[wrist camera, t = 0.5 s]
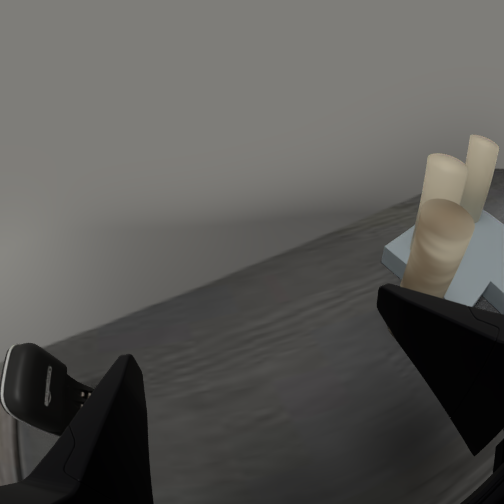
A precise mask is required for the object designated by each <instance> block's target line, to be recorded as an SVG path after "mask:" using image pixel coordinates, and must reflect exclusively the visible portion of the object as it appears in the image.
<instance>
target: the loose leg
mask: <svg viewBox="0 0 504 504" xmlns="http://www.w3.org/2000/svg"><path fill="white" fill-rule="evenodd" d="M474 229H475V223H474V220H473V218H472V216H471V215H470V214H469V213H468V211H467V210H465V209H464V208H463V207H462V206H460V205H458V204H457V203H455V202H452V201H450V200H446V199H430V200H428V201H426V202H425V203H424V204H423V205H422V208H421V212H420V216H419V221H418V225H417V229H416V233H415V237H414V241H413V244H412V248H411V251H410V255H409V258H408V262H407V265H406V268H405V272H404V275H403V278H402V281H401V284H400V287H404V288H407V289H411V290H415V291H418V292H422V293H425V294H429V295H432V296H436V297H439V298H444V296H445V294H446V292H447V290H448V288H449V286H450V284H451V282H452V280H453V278H454V276H455V274H456V272H457V270H458V267H459V265H460V263H461V261H462V259H463V256H464V254H465V252H466V249H467V247H468V245H469V242H470V240H471V237H472V235H473V232H474ZM388 329H389V327H388ZM389 331H390V329H389ZM390 333H391V334H392V332H391V331H390ZM392 336H393V334H392ZM393 337H394V336H393Z"/></svg>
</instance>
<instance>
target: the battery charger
mask: <svg viewBox="0 0 504 504" xmlns="http://www.w3.org/2000/svg"><path fill="white" fill-rule="evenodd" d="M93 391H94V389H92V388H90V387H88V386H86V385H83V384H81V383H79V382H77V381H76V380H74V379H73V378H71V377H70V376H69V375H67V367H66V365H65V364H63V363H62V362H61V361H59V360H58V359H57V358H55V357H54V356H52V355H51V354H50V353H48V352H47V351H45V350H44V349H43V348H41V347H39V346H38V345H36V344H33V343H25V344H15V345H13V346H11V347H10V348H9V350H8V351H7V354H6V357H5V361H4V365H3V370H2V375H1V381H0V403H1V405H2V407H3V408H4V410H5V411H6V412H7V413H8V414H9V415H11V416H12V417H14V418H15V419H17V420H19V421H21V422H23V423H25V424H26V425H28V426H31V427H33V428H35V429H37V430H40V431H42V432H45V433H48V434H50V435H53V436H56V437H60V436H61V435H62V434H63V432H64V431H65V429H66V428H67V427H68V426H70V425H69V424H70V422H71V421H72V420H73V418H74V417H75V415H76V414H77V413H78V411H79V410H80V408H81V407H82V406H83V404H84V403H85V401H86V400H87V399H88V397H89V396H90V395H91V393H92V392H93Z"/></svg>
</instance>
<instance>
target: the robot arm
mask: <svg viewBox="0 0 504 504" xmlns="http://www.w3.org/2000/svg"><path fill="white" fill-rule="evenodd" d="M377 308H378V311H379V312H380V314H381V316H382V317H383V319H384V321H385V322H386V324H387V326H388V327H389V329H390V331H391V332H392V334H393V336H394V337H395V339H396V340H397V342H398V343H399V345H400V346H401V347H402V349H403V350H404V351H405V353H406V354H407V356H408V357H409V358H410V360H411V361H412V362H413V364H414V365H415V367H416V368H417V370H418V371H419V372H420V374H421V375H422V377H423V378H424V379H425V381H426V382H427V384H428V385H429V387H430V388H431V390H432V391H433V393H434V394H435V396H436V397H437V399H438V400H439V402H440V403H441V405H442V406H443V408H444V409H445V411H446V412H447V414H448V415H449V417H451V418H450V419H451V420H452V422H453V423H454V425H455V426H456V428H457V430H458V431H459V433H460V435H461V436H462V438H463V439H464V441H465V443H466V444H467V446H468V448H469V449H470V451H471V453H472V454H473V455H474V456H475V455H477V454H478V453H479V452H480V451H481V450H482V449H483V448H484V447H485V446H486V445H487V444H488V443H489V442H490V441H491V440H492V439H493V438H494V437H495V436H496V435H497V434H498V433H499V432H500V431H501V430H502V429H503V431H504V314H499V313H494V312H490V311H485V310H482V309H478V308H474V307H471V306H467V305H464V304H460V303H457V302H453V301H450V300H446V299H443V298H439V297H436V296H432V295H429V294H425V293H422V292H418V291H415V290H411V289H407V288H404V287H400V286H397V285H393V284H389V283H388V284H385V285H382V286H380V287H379V290H378V298H377ZM69 425H70V426H68V427H67V428H66V429H65V431H64V432H63V434H62V435H61V436H60V438H59V439H58V441H57V442H56V443H55V445H54V446H53V447H52V448H51V449H50V451H49V452H48V453H47V454H46V456H45V457H44V458H43V459H42V460H41V462H40V463H39V464H38V465H37V466H36V468H35V469H34V470H33V471H32V472H31V474H30V475H29V476H28V477H26V478H25V479H24V480H22V481H20V482H17V483H13V484H8V485H4V486H0V504H154V503H153V495H152V486H151V475H150V463H149V447H148V423H147V408H146V400H145V392H144V383H143V375H142V371H141V369H140V367H139V366H138V364H137V362H136V361H135V359H134V357H133V356H132V355H131V354H126V355H121V356H119V357H118V359H117V360H116V361H115V363H114V364H113V365H112V367H111V368H110V369H109V370H108V372H107V373H106V374H105V376H104V377H103V378H102V380H101V381H100V382H99V384H98V385H97V387H96V388H95V389H94V391H93V392H92V393H91V395H90V396H89V397H88V399H87V400H86V401H85V403H84V404H83V406H82V407H81V408H80V410H79V411H78V413H77V414H76V415H75V417H74V418H73V420H72V421H71V422H70V424H69ZM461 504H504V439H503V440H502V441H501V442H500V443H499V444H498V445H497V446H496V451H495V460H494V467H493V474H492V475H491V476H490V477H489V478H488V479H487V480H486V481H485V482H484V483H483V484H482V485H481V486H480V487H479V488H478V489H477V490H476V491H474V492H473V493H472V494H471V495H470V496H469V497H468V498H466V499H465V500H464V501H463V502H462V503H461Z"/></svg>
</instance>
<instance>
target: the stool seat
mask: <svg viewBox="0 0 504 504" xmlns="http://www.w3.org/2000/svg"><path fill="white" fill-rule="evenodd" d="M498 152H499V147H498V145H497V144H496V143H494V142H493V141H491V140H490V139H488V138H485V137H482V136H479V135H471V136H470V141H469V147H468V154H467V158H466V163H465V164H464V163H463V162H462V161H460V160H458V159H457V158H455V157H452V156H450V155H446V154H441V153H434V154H431V155H429V156H428V160H427V166H426V173H425V179H424V185H423V191H422V196H421V201H420V206H419V210H418V215H417V219H416V224H415V225H414V226H413V227H412V228H410V229H409V230H407V231H406V232H405V233H403V234H402V235H400V236H399V237H397V238H396V239H395V240H393V241H392V242H390V243H389V244H387V245H386V246H385V247H384V252H383V257H382V261H381V263H383V264H384V265H385V266H386V267H387V268H388V269H390V270H391V271H392V272H393V273H394V274H395V275H396V276H398V277H399V278H400V279H401V280H402V278H403V275H404V272H405V268H406V265H407V262H408V258H409V255H410V251H411V248H412V244H413V241H414V237H415V233H416V229H417V225H418V221H419V216H420V212H421V208H422V205H423V204H424V203H425V202H426V201H428V200H430V199H446V200H450V201H452V202H455V203H457V204H458V205H460V206H462V207H463V208H464V209H465V210H467V211H468V213H469V214H470V215H471V216H472V218H473V220H474V223H475V229H474V232H473V235H472V237H471V240H470V242H469V245H468V247H467V249H466V252H465V254H464V256H463V259H462V261H461V263H460V265H459V267H458V270H457V272H456V274H455V276H454V278H453V280H452V282H451V284H450V286H449V288H448V290H447V292H446V294H445V296H444V298H443V299H446V300H450V301H453V302H457V303H460V304H464V305H467V306H471V307H474V305H475V304H476V303H477V301H478V300H479V299H480V297H481V296H483V297H484V298H485V299H486V300H487V301H488V302H489V303H491V304H492V305H493V306H494V307H495V308H496V309H497V310H498V311H499V312H500V313H501V314H504V224H502V223H501V222H500V221H498V220H497V219H496V218H494V217H493V216H492V215H490V214H489V213H487V212H486V211H485V210H483V207H484V204H485V201H486V198H487V194H488V191H489V188H490V184H491V181H492V177H493V173H494V169H495V165H496V161H497V156H498Z"/></svg>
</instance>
